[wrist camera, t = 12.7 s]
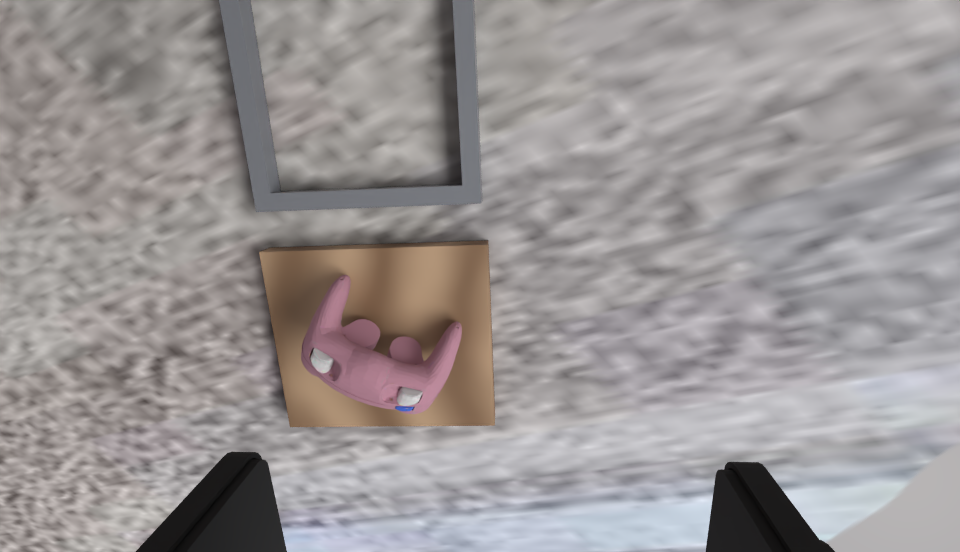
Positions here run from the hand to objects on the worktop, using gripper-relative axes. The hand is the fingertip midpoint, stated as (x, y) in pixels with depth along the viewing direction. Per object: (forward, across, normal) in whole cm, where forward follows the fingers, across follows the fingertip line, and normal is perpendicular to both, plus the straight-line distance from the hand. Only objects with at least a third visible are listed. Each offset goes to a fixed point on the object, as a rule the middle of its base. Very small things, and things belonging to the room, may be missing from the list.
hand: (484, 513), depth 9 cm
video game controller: (+22, +9, +6) cm, 24 cm away
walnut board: (+23, +9, +6) cm, 26 cm away
